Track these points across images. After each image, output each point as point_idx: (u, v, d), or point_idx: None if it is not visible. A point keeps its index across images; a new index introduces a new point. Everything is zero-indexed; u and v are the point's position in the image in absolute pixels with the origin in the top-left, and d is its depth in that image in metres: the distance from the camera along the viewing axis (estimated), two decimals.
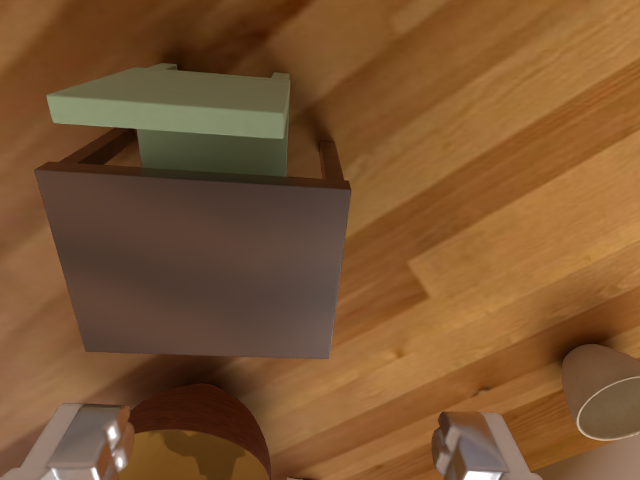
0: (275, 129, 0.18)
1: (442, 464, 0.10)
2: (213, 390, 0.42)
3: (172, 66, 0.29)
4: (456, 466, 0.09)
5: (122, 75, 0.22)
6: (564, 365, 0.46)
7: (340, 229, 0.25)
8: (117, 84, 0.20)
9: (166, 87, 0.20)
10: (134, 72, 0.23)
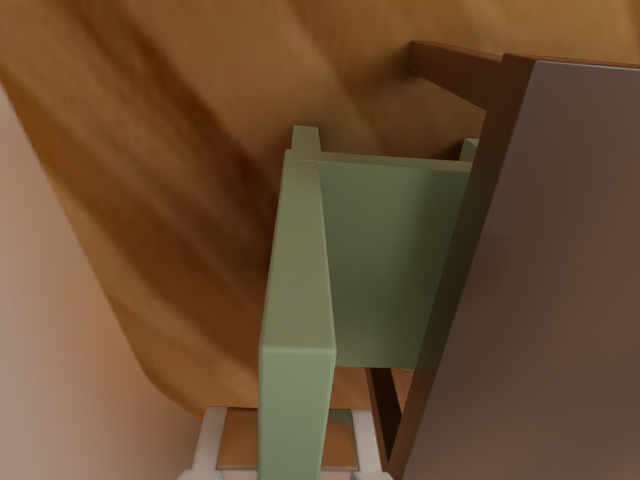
0: (308, 366, 0.06)
1: None
2: None
3: None
4: None
5: None
6: None
7: None
8: None
9: None
10: None
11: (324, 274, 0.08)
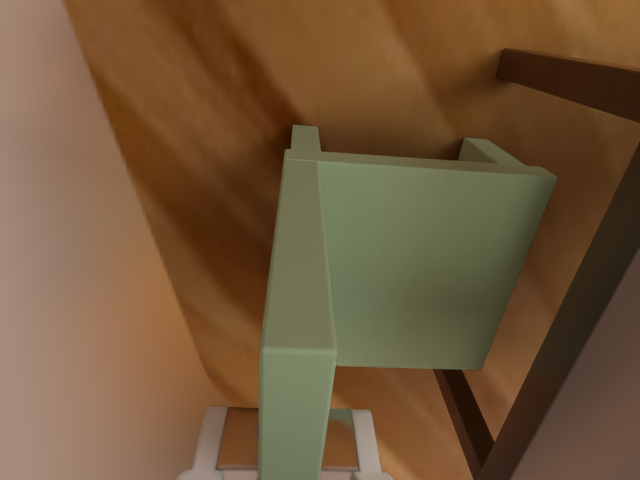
0: (309, 367, 0.06)
1: None
2: None
3: None
4: None
5: None
6: None
7: None
8: None
9: None
10: None
11: (324, 274, 0.08)
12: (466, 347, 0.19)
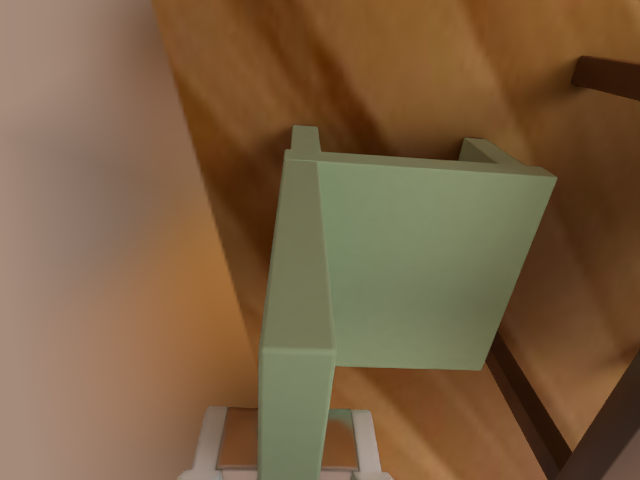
0: (308, 367, 0.06)
1: None
2: None
3: None
4: None
5: None
6: None
7: None
8: None
9: None
10: None
11: (324, 275, 0.08)
12: (466, 347, 0.19)
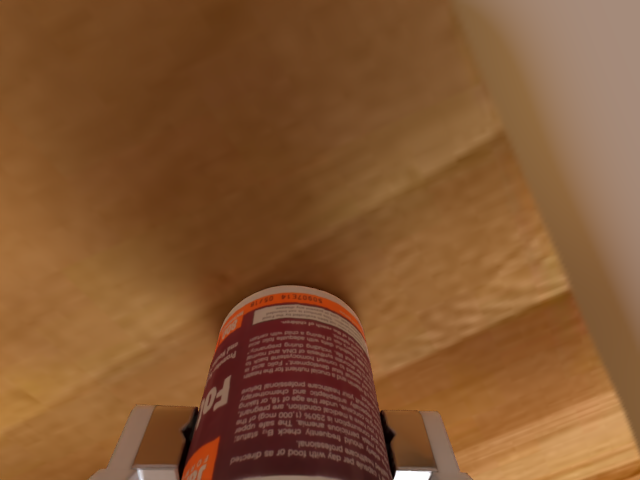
0: None
1: None
2: None
3: None
4: None
5: None
6: None
7: None
8: None
9: None
10: None
11: None
12: None
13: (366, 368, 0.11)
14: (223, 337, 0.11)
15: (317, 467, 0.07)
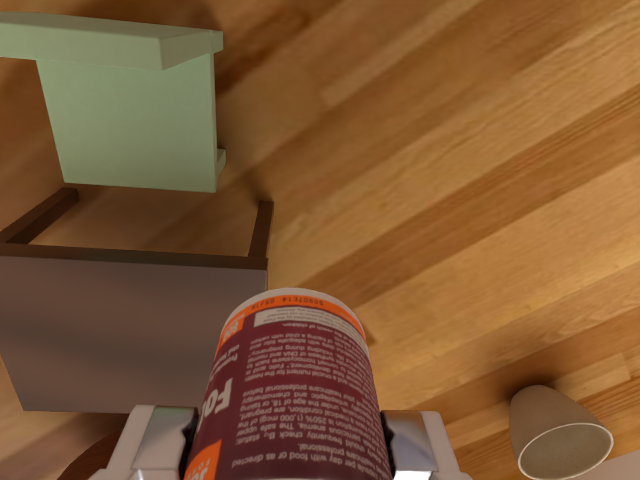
0: (151, 59, 0.15)
1: None
2: None
3: None
4: None
5: (6, 12, 0.20)
6: (511, 406, 0.47)
7: None
8: None
9: (44, 19, 0.18)
10: (27, 13, 0.21)
11: (176, 63, 0.17)
12: (83, 167, 0.26)
13: (367, 370, 0.11)
14: (224, 339, 0.11)
15: (318, 471, 0.07)
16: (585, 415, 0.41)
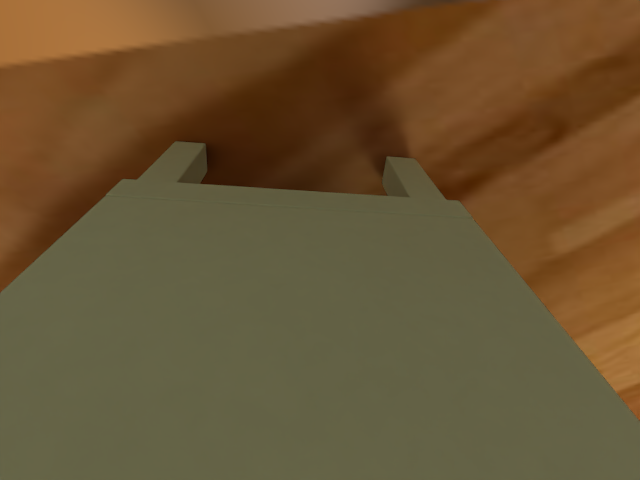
0: None
1: None
2: None
3: (199, 152, 0.15)
4: None
5: (84, 247, 0.08)
6: None
7: None
8: (51, 351, 0.06)
9: (216, 343, 0.06)
10: (119, 216, 0.09)
11: None
12: None
13: None
14: None
15: None
16: None
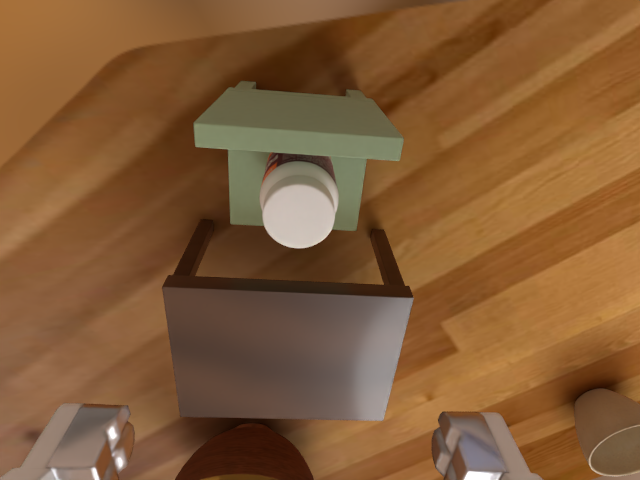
0: (394, 152, 0.19)
1: (442, 464, 0.10)
2: (267, 433, 0.48)
3: (254, 84, 0.30)
4: (456, 466, 0.09)
5: (230, 98, 0.24)
6: (576, 407, 0.51)
7: (402, 325, 0.30)
8: (237, 108, 0.22)
9: (280, 111, 0.22)
10: (235, 94, 0.25)
11: None
12: (249, 212, 0.31)
13: (330, 161, 0.26)
14: (271, 153, 0.27)
15: (309, 161, 0.23)
16: None
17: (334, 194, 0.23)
